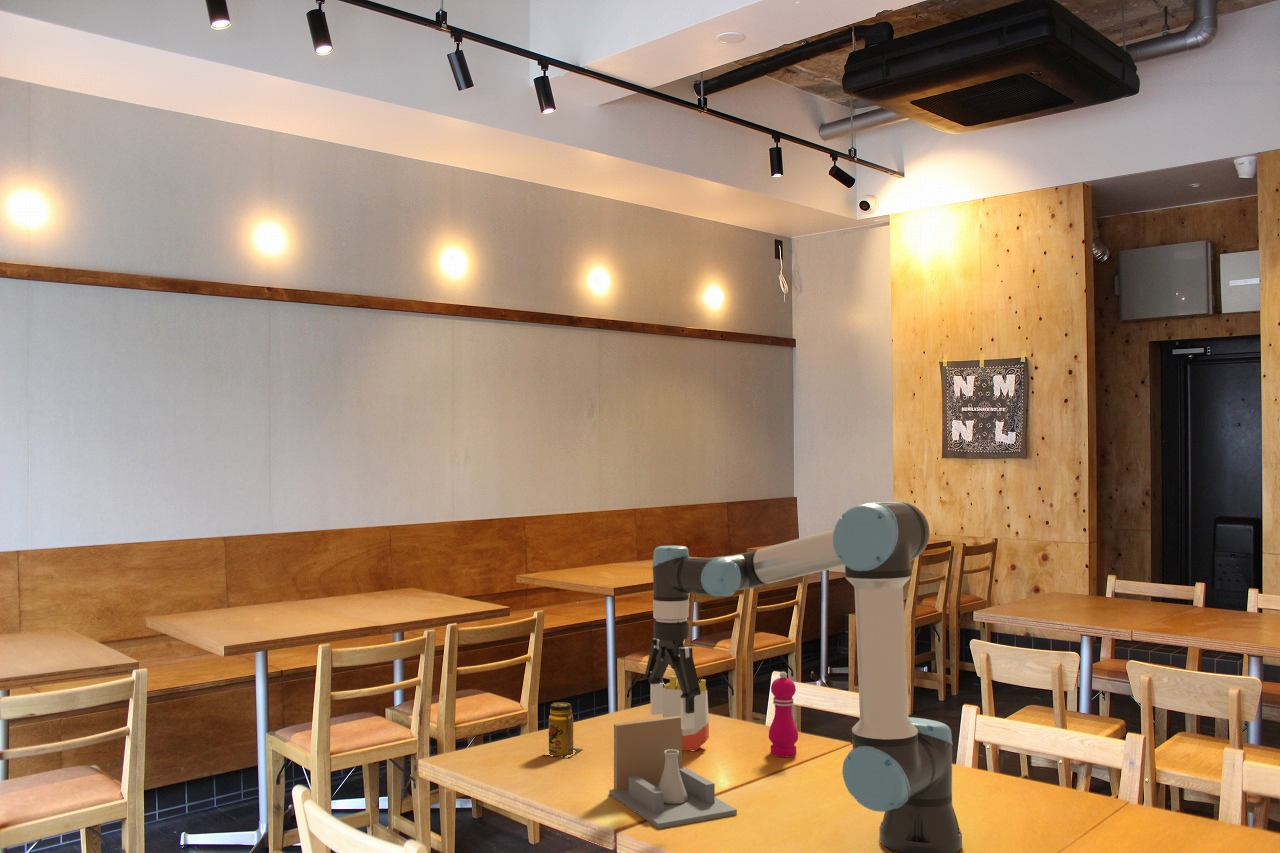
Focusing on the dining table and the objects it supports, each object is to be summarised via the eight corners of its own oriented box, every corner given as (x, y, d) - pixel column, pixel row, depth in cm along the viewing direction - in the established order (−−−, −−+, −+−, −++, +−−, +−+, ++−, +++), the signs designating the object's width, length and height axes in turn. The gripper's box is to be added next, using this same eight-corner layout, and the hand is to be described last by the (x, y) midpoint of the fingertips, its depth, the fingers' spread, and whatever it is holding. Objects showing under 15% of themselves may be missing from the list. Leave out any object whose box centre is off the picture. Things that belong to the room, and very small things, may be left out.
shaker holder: (736, 814, 212) (736, 740, 212) (658, 828, 204) (658, 751, 204) (682, 782, 232) (682, 715, 233) (609, 794, 224) (609, 724, 225)
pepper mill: (778, 747, 260) (778, 667, 260) (803, 753, 255) (803, 671, 256) (762, 754, 254) (762, 672, 255) (788, 759, 250) (788, 676, 250)
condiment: (542, 755, 253) (542, 706, 253) (556, 746, 261) (556, 698, 261) (569, 758, 250) (569, 708, 251) (583, 749, 258) (583, 700, 259)
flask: (685, 806, 214) (685, 757, 214) (651, 803, 215) (651, 755, 216) (691, 794, 221) (691, 747, 221) (657, 792, 222) (657, 745, 223)
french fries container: (666, 743, 263) (666, 672, 264) (709, 746, 261) (709, 674, 261) (662, 748, 259) (662, 676, 259) (705, 752, 256) (705, 678, 257)
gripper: (716, 626, 210) (717, 732, 209) (659, 610, 232) (660, 706, 231) (684, 629, 206) (685, 737, 206) (629, 613, 229) (629, 710, 228)
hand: (671, 721), depth 218 cm, fingers open, 13 cm apart
